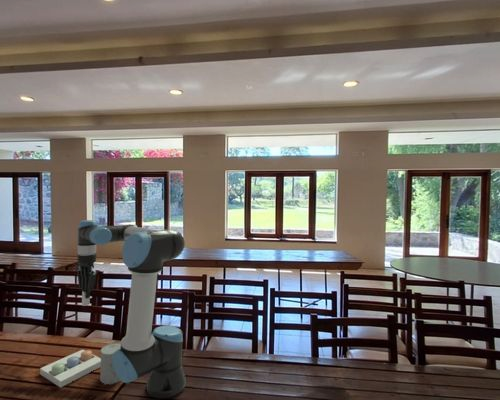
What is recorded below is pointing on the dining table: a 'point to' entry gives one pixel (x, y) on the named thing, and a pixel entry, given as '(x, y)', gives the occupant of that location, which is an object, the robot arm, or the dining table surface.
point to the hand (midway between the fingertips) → (85, 304)
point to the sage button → (57, 369)
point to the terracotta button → (86, 355)
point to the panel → (71, 373)
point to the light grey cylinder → (108, 364)
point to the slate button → (72, 362)
